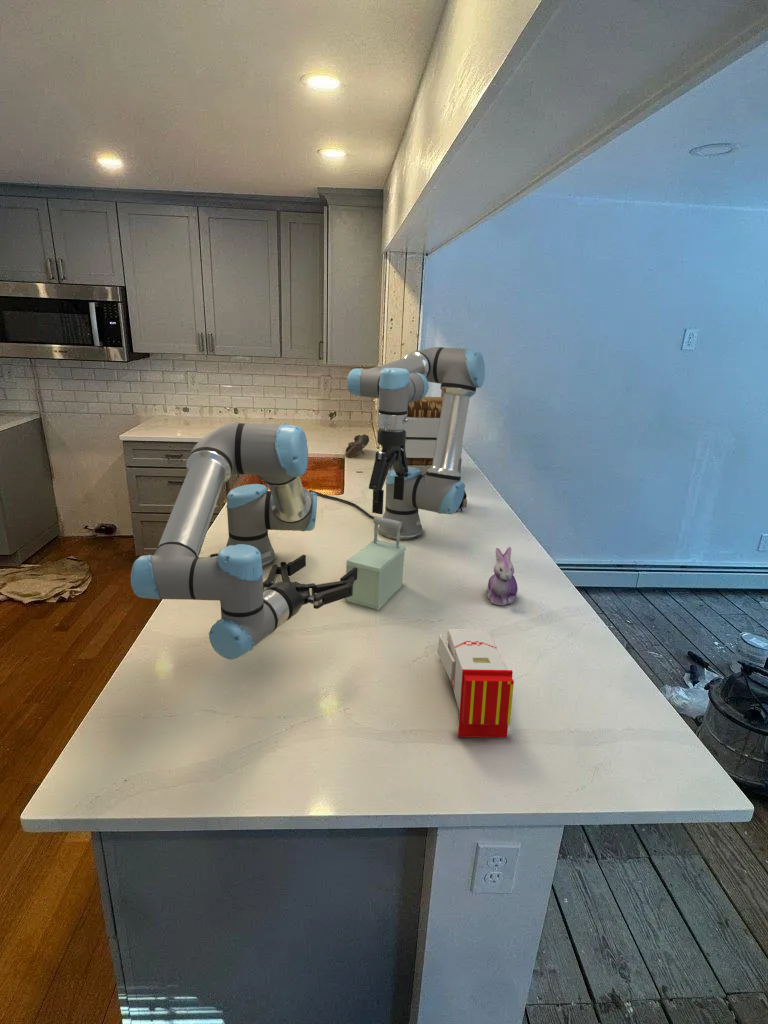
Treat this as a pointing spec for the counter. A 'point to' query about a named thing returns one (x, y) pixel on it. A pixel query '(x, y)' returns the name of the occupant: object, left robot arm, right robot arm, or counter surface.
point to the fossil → (357, 445)
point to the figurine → (502, 580)
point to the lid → (378, 549)
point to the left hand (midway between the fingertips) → (329, 566)
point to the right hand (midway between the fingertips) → (388, 506)
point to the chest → (377, 584)
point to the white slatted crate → (423, 431)
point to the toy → (478, 682)
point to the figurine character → (463, 502)
